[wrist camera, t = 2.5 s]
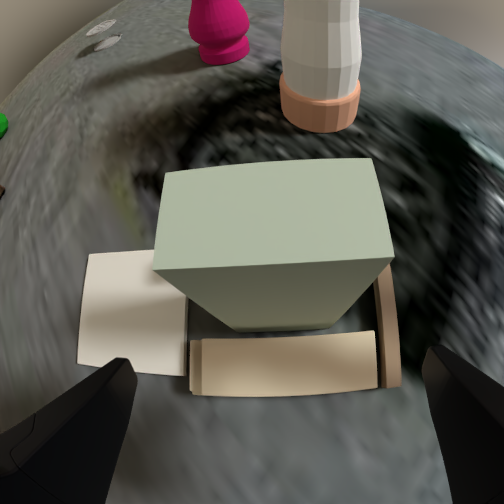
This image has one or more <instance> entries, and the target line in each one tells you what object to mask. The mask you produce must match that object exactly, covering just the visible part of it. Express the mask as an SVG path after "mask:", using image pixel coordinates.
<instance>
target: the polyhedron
mask: <svg viewBox="0 0 504 504" xmlns="http://www.w3.org/2000/svg"><path fill="white" fill-rule="evenodd" d="M7 128H8V120H7V118H6V116H5V115H4V114H2V113H0V138H1V137H3V136H4V134H5V133H6V131H7Z"/></svg>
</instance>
